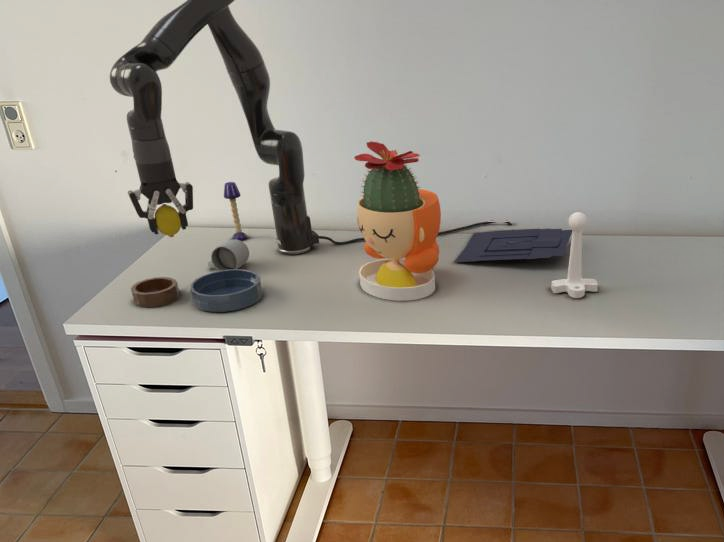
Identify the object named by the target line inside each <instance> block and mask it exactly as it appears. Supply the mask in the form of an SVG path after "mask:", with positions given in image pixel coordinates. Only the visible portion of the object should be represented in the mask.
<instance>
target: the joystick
mask: <svg viewBox="0 0 724 542" xmlns="http://www.w3.org/2000/svg"><path fill="white" fill-rule="evenodd" d="M568 226H569V228H570V230H572V234H571V242H570V249H569V250H570V251H569V259H568V266H567V276H566V278H561V279H554V280H552V281H551V284H550V285H551V286H550V287H551V288H550V291H551V292H552V293H553V294H559V293H567V294H568V296H569V297H570V298H572V299H581V298H583V297H584V296H585V294H586V292H594V293H596V292H598V288H599V287H598V286H599V283H598V282H597V279H595V278H583V231H584V229H586V227H587V226H588V217H587V215H585V214H584V213H583V212H580V211H576V212H573V213H572V214H571V215H570V216H569V218H568Z"/></svg>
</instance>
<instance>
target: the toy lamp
mask: <svg viewBox="0 0 724 542" xmlns="http://www.w3.org/2000/svg"><path fill="white" fill-rule="evenodd" d="M240 197H241V192H240V190H239V187H238V186H237V184H236V182H234V181H228V182H225V183H224V185H223V198H224V199H227V200H229V202H230V204H229V205H230V207H231V209H230V210H231V213H232V214H231V216H232V219H233V223H234V225H233V226H234V228H235V233H233V235H232V240H233V239H237V240H240V241H244V240H245V241H246V240H247V239H248V236H247V234H246V233H245V232H243V230H242V227H241V226H242V224H241V220H240V218H239V215H240V214H239V209H238V204H237V199H238V198H240Z"/></svg>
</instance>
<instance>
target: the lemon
mask: <svg viewBox="0 0 724 542" xmlns="http://www.w3.org/2000/svg"><path fill="white" fill-rule="evenodd" d="M178 212H179V211H178V210H177V208H176V207H173V206H172V205H169V204H167V203H163V204H161V205H160V206H159V207H158V208H156V210H155V213H154V218H155V221H156V225H157V229H158V232H160V234H162V235H165V236H168V237H169V238H174V237H175V235H176V234H178V233H179V232H180V230H181V229H182V228H181V219H180V216H179V214H178Z"/></svg>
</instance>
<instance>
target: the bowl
mask: <svg viewBox="0 0 724 542" xmlns="http://www.w3.org/2000/svg"><path fill="white" fill-rule="evenodd" d="M189 289H190V290H189V291H190V293H191V298H192V303H193V304H194V306H195V308H197V309H199V310H201V311H206V312H211V313H213V312H214V313H225V312H233V311H238V310H242V309H245V308H248V307H249V306H252V305H254V304H256V303H257V302H259V301H260V300H261V298H262V297H263V293H264V292H263V285H262V280H261V276H260V275H259V274H258V273H257V272H254V271H252V270H248V269H240V268H238V269H231V270H222V271H218V270H217V271H213V272H209V273H206V274H203V275H202V276H200V277H198V278H196V279H194V281H192V282H191V284H190V287H189Z"/></svg>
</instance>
